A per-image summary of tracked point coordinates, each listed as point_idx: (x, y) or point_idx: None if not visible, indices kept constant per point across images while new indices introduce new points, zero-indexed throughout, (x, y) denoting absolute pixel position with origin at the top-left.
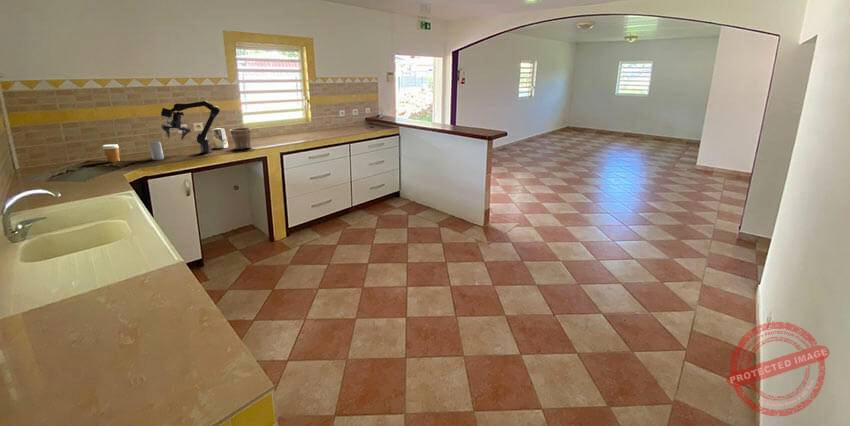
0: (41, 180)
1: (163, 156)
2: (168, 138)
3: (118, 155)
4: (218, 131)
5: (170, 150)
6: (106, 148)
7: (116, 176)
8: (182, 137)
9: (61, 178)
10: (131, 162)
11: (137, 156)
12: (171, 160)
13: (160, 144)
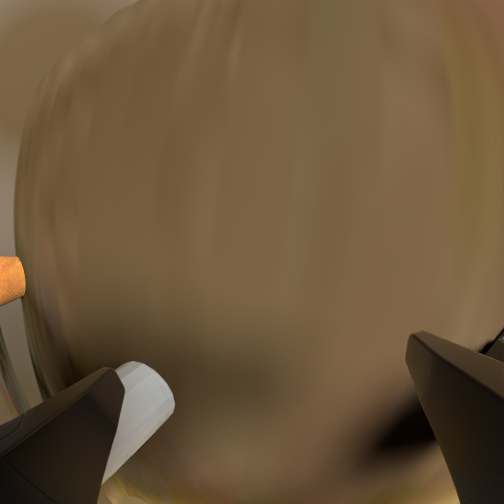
0: (7, 394)
1: (166, 415)
2: (114, 396)
3: (4, 295)
4: None
5: (262, 16)
6: None
7: (99, 494)
8: (430, 422)
9: (21, 411)
10: (59, 361)
11: (60, 180)
12: (215, 477)
13: (109, 476)
